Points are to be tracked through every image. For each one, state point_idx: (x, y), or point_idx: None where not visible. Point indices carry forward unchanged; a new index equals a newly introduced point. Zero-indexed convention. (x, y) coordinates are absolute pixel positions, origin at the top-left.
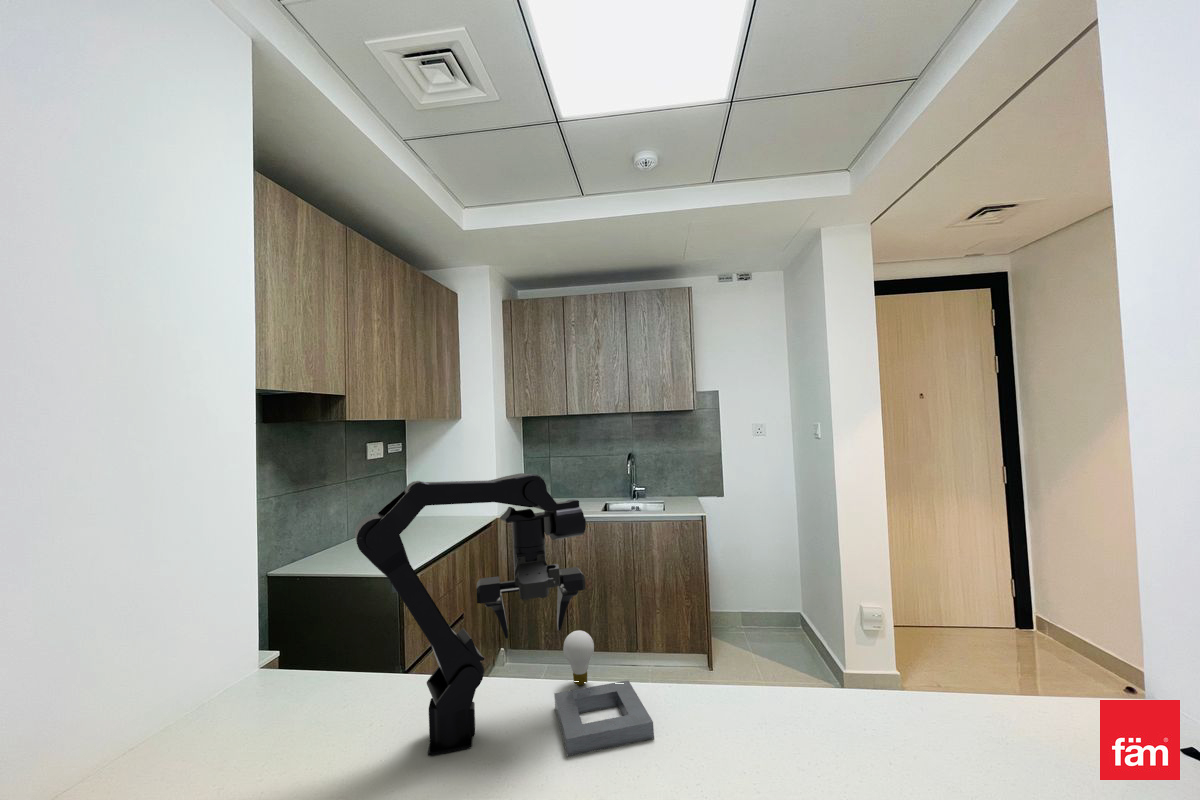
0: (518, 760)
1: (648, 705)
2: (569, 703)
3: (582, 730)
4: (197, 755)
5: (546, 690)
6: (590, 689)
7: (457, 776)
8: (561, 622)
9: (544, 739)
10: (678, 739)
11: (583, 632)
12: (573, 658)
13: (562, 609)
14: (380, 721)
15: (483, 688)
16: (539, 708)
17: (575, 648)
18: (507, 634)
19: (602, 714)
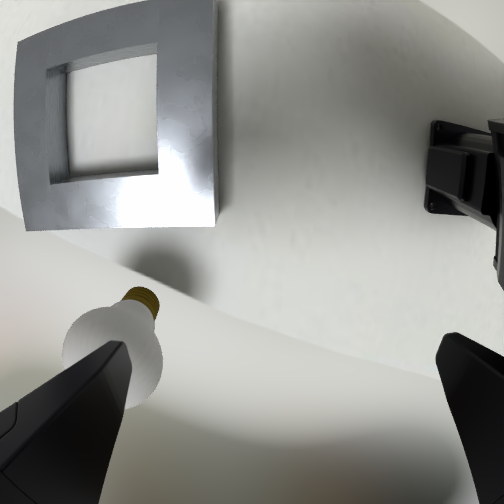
0: (333, 32)
1: None
2: (175, 153)
3: (164, 16)
4: None
5: (233, 305)
6: (109, 214)
7: (447, 48)
8: (79, 365)
9: (264, 82)
10: (8, 46)
11: None
12: (131, 318)
13: (16, 425)
14: None
15: (373, 350)
16: (261, 228)
17: (111, 335)
18: (462, 342)
19: (105, 151)
